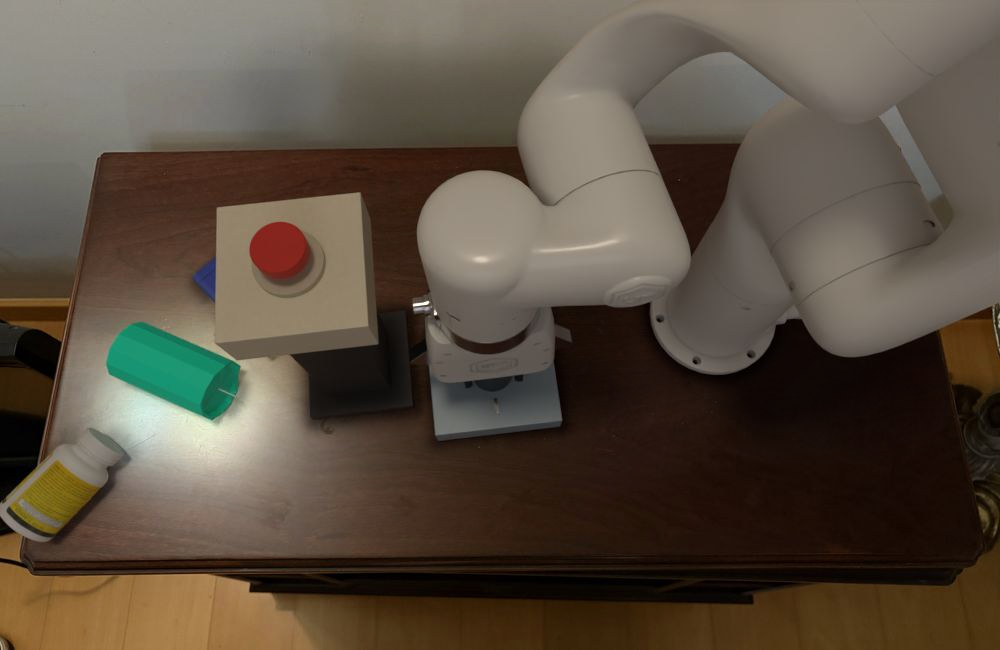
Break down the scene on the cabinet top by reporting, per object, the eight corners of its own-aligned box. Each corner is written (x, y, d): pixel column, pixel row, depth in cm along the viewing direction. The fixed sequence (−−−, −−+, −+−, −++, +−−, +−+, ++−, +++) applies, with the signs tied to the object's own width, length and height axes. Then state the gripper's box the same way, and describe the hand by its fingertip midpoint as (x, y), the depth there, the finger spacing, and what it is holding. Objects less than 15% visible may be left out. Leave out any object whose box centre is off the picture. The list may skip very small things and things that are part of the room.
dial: (510, 349, 69) (510, 330, 63) (515, 389, 67) (516, 373, 62) (469, 354, 68) (466, 335, 63) (473, 394, 67) (470, 378, 62)
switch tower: (407, 313, 73) (358, 187, 49) (414, 408, 70) (366, 323, 46) (310, 324, 73) (213, 202, 49) (313, 420, 69) (210, 340, 45)
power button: (309, 226, 47) (304, 218, 46) (311, 276, 46) (306, 269, 44) (254, 232, 47) (248, 224, 45) (255, 282, 45) (248, 275, 44)
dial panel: (544, 321, 73) (546, 310, 70) (560, 426, 69) (562, 420, 66) (428, 334, 72) (425, 324, 69) (437, 441, 69) (434, 435, 66)
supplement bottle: (56, 551, 64) (138, 467, 66) (2, 530, 60) (91, 441, 62) (40, 519, 68) (118, 439, 70) (-11, 497, 64) (73, 413, 66)
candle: (136, 378, 72) (239, 424, 70) (96, 378, 66) (208, 428, 64) (159, 324, 72) (263, 368, 70) (122, 318, 66) (234, 366, 64)
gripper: (372, 365, 48) (407, 419, 66) (614, 336, 49) (585, 396, 66) (365, 266, 51) (401, 342, 68) (595, 238, 51) (573, 321, 69)
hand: (492, 368), depth 67 cm, fingers closed on dial, 4 cm apart
